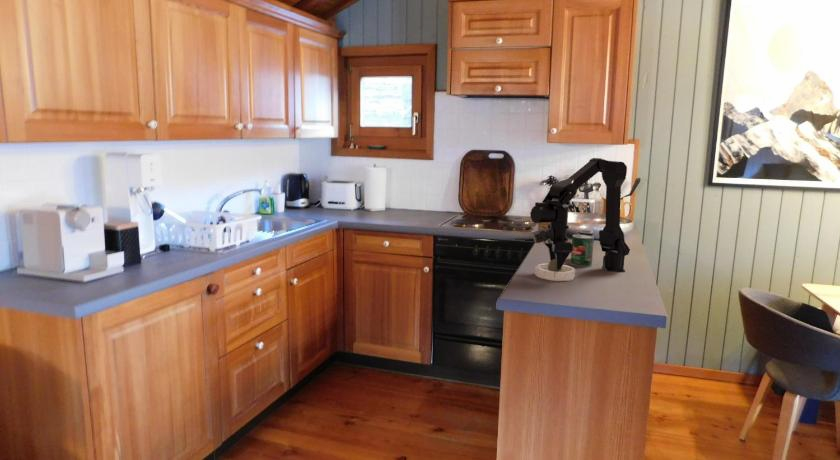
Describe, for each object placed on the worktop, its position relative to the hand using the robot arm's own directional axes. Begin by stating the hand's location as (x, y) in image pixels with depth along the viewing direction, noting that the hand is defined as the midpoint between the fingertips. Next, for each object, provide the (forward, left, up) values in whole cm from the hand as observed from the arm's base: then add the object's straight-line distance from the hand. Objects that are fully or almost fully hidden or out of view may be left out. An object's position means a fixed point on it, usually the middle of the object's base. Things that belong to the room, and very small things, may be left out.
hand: (555, 266), depth 198 cm
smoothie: (-13, -70, -4) cm, 71 cm away
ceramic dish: (0, 0, -4) cm, 4 cm away
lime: (0, 0, -3) cm, 3 cm away
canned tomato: (-15, -20, -4) cm, 25 cm away
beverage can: (-19, -30, -4) cm, 36 cm away
